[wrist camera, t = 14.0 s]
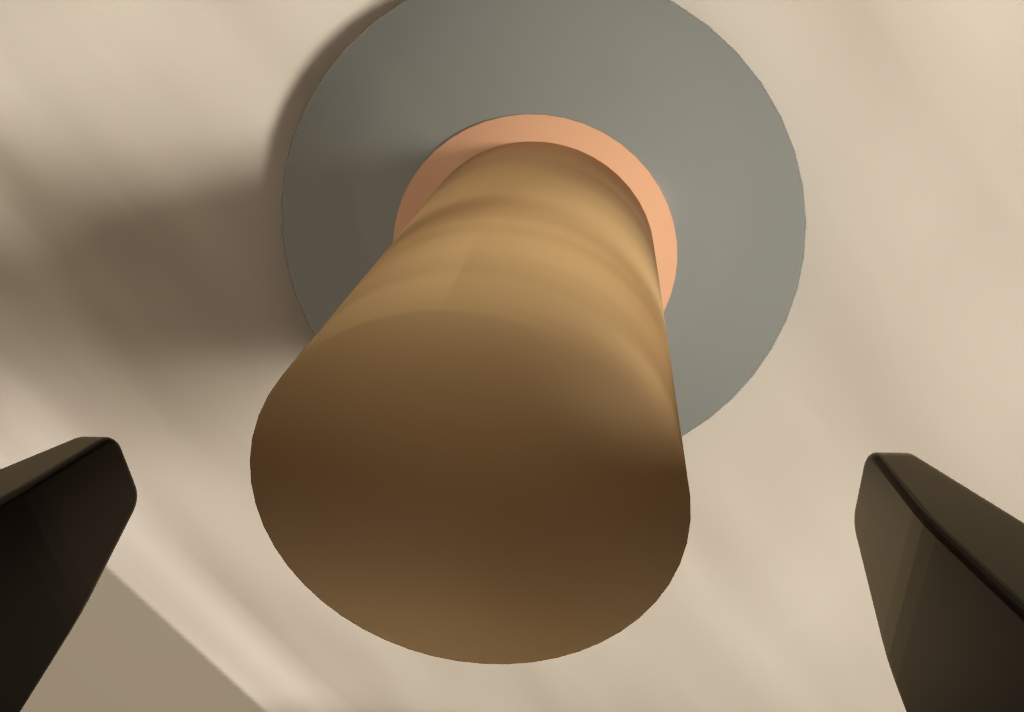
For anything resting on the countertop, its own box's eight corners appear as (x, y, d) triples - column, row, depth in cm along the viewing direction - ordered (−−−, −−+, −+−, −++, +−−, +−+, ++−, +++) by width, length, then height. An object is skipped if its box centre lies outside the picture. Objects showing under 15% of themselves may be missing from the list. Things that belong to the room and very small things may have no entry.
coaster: (768, 456, 18) (775, 479, 17) (341, 447, 19) (330, 467, 18) (833, -57, 13) (847, -59, 12) (245, -13, 14) (223, -12, 13)
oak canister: (651, 366, 16) (680, 676, 9) (432, 366, 17) (298, 652, 10) (658, 135, 14) (704, 308, 7) (403, 146, 14) (199, 311, 7)
